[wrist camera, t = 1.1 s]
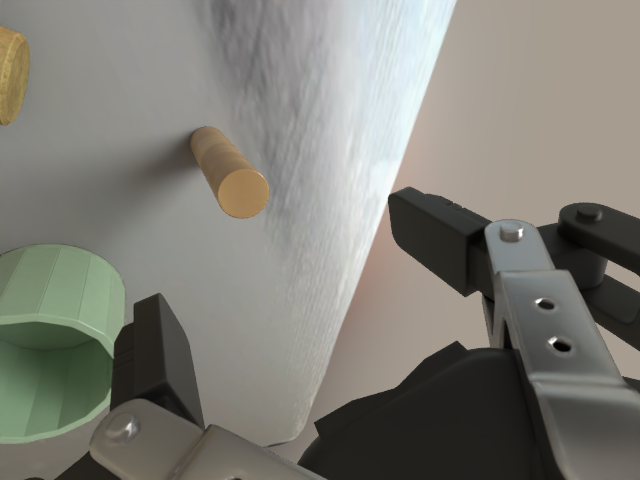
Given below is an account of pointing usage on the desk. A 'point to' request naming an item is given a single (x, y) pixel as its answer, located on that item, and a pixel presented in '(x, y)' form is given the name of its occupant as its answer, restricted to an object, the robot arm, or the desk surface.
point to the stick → (229, 174)
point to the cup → (56, 339)
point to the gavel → (12, 73)
